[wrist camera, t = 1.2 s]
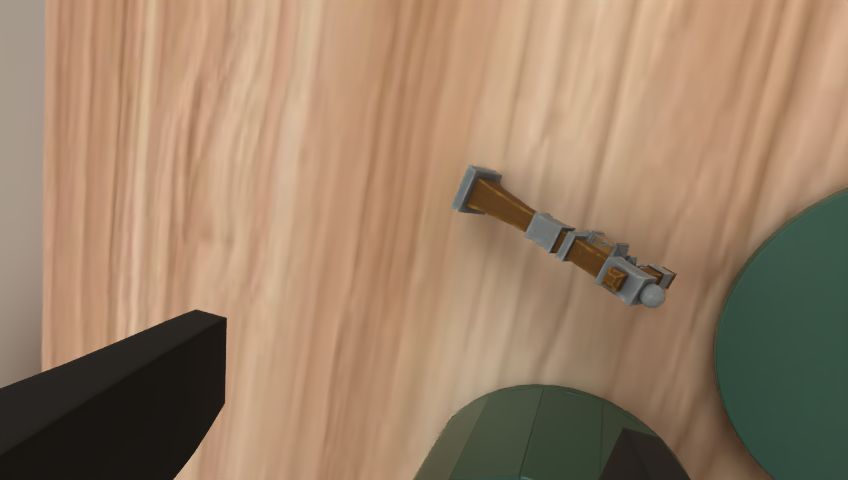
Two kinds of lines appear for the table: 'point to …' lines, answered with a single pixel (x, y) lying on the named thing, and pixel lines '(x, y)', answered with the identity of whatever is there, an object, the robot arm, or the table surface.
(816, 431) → the lid
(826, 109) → the table surface
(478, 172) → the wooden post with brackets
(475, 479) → the tin
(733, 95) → the table surface
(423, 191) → the table surface
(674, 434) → the table surface
